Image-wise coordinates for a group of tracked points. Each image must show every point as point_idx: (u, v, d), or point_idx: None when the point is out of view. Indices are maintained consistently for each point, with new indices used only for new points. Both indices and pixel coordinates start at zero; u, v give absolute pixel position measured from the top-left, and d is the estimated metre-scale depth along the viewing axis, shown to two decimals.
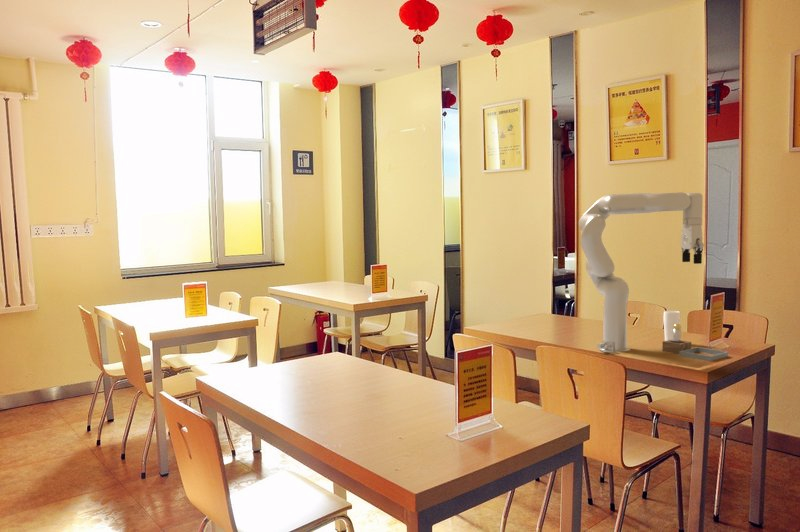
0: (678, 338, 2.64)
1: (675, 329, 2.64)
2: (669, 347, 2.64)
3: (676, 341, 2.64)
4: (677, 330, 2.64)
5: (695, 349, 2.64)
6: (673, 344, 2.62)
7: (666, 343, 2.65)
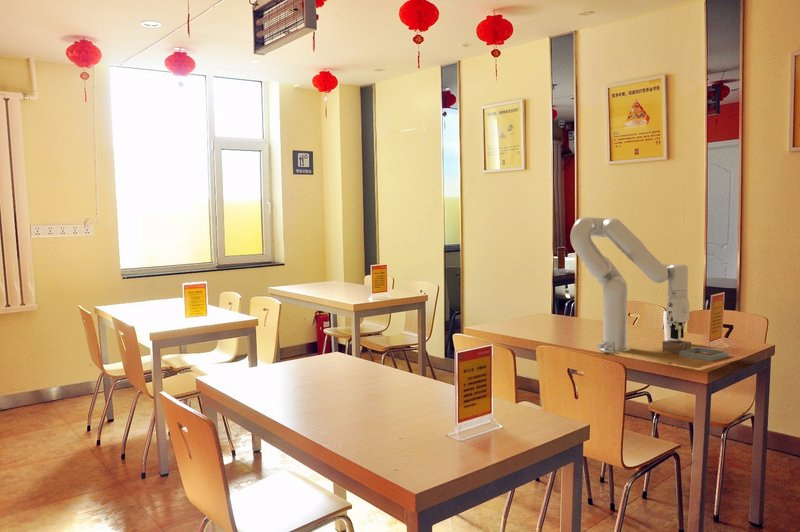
0: (678, 338, 2.64)
1: None
2: (669, 347, 2.64)
3: (676, 341, 2.64)
4: None
5: (695, 349, 2.64)
6: (673, 344, 2.62)
7: (666, 343, 2.65)
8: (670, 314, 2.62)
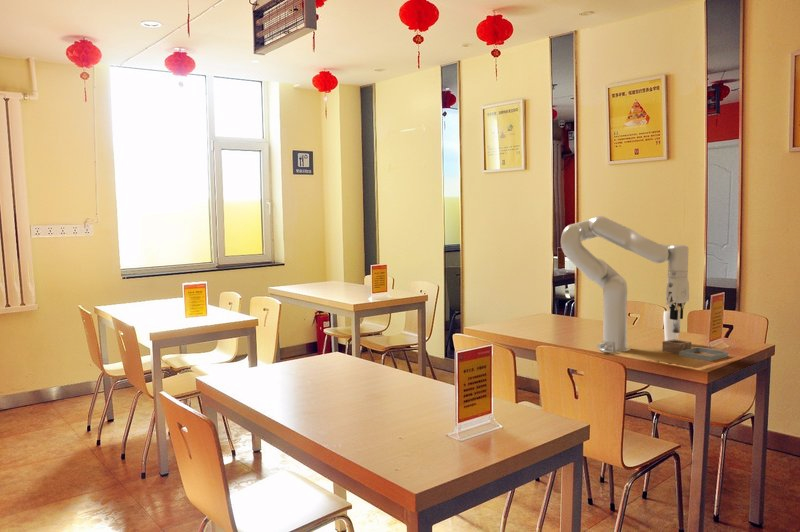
0: None
1: None
2: (669, 347, 2.64)
3: (675, 321, 2.64)
4: None
5: (695, 349, 2.64)
6: (673, 344, 2.62)
7: (666, 343, 2.65)
8: (669, 294, 2.62)
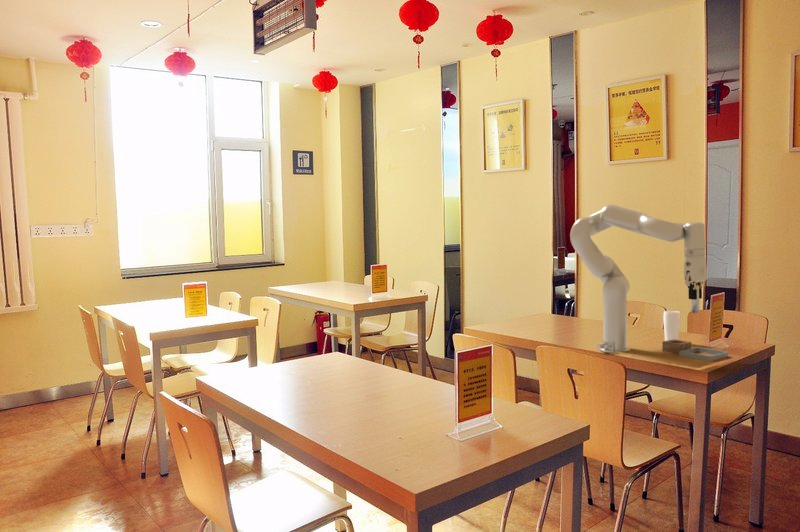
0: (696, 299, 2.57)
1: None
2: (669, 347, 2.64)
3: (694, 301, 2.57)
4: None
5: (695, 349, 2.64)
6: (673, 344, 2.62)
7: (666, 343, 2.65)
8: (687, 273, 2.55)
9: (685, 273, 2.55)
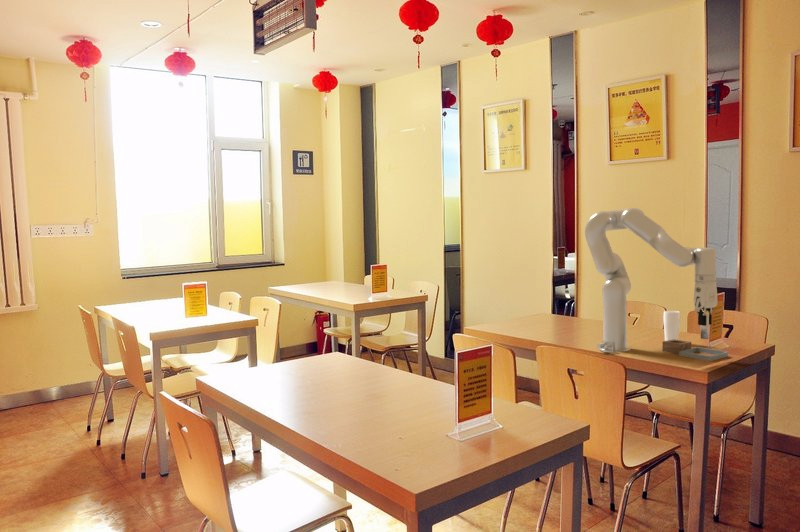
0: (706, 325, 2.54)
1: None
2: (669, 347, 2.64)
3: (704, 327, 2.54)
4: None
5: (695, 349, 2.64)
6: (673, 344, 2.62)
7: (666, 343, 2.65)
8: (697, 299, 2.52)
9: (695, 299, 2.53)
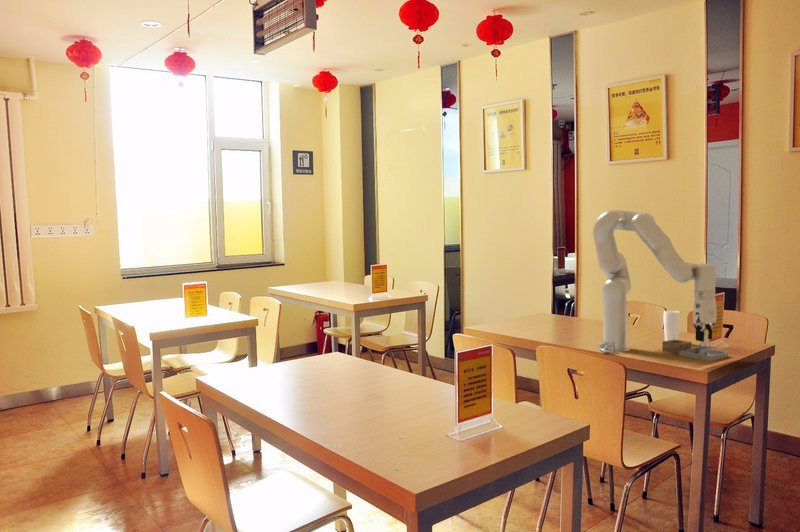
0: (705, 344, 2.55)
1: None
2: (669, 347, 2.64)
3: (703, 346, 2.55)
4: (704, 334, 2.54)
5: (695, 349, 2.64)
6: (673, 344, 2.62)
7: (666, 343, 2.65)
8: (696, 314, 2.53)
9: (694, 315, 2.53)
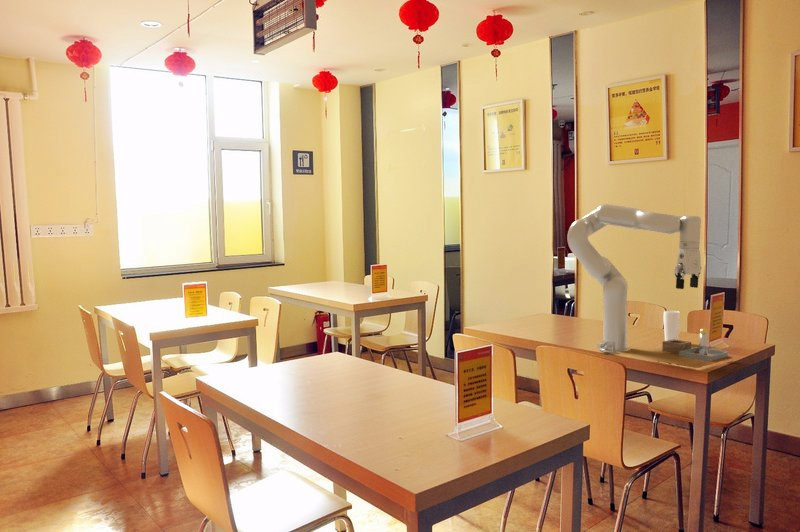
0: (705, 344, 2.55)
1: (702, 334, 2.55)
2: (669, 347, 2.64)
3: (703, 346, 2.55)
4: (704, 334, 2.54)
5: (695, 349, 2.64)
6: (673, 344, 2.62)
7: (666, 343, 2.65)
8: (680, 263, 2.58)
9: None
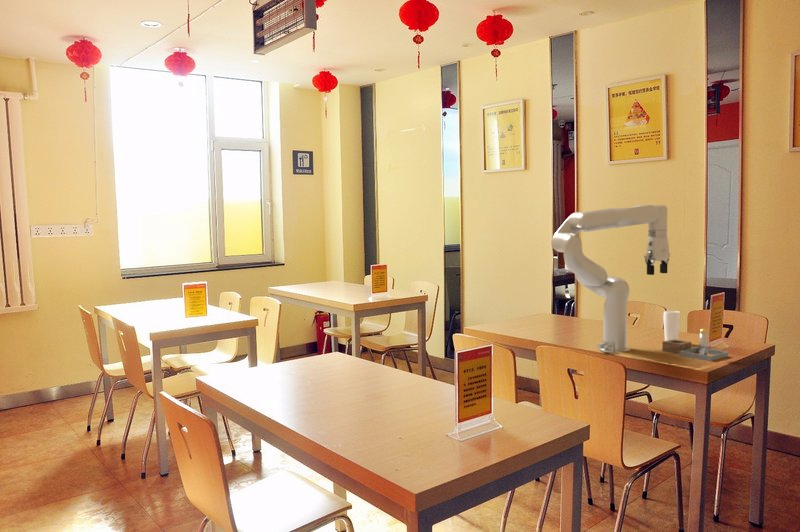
0: (705, 344, 2.55)
1: (702, 334, 2.55)
2: (669, 347, 2.64)
3: (703, 346, 2.55)
4: (704, 334, 2.54)
5: (695, 349, 2.64)
6: (673, 344, 2.62)
7: (666, 343, 2.65)
8: (649, 250, 2.72)
9: (648, 252, 2.73)
